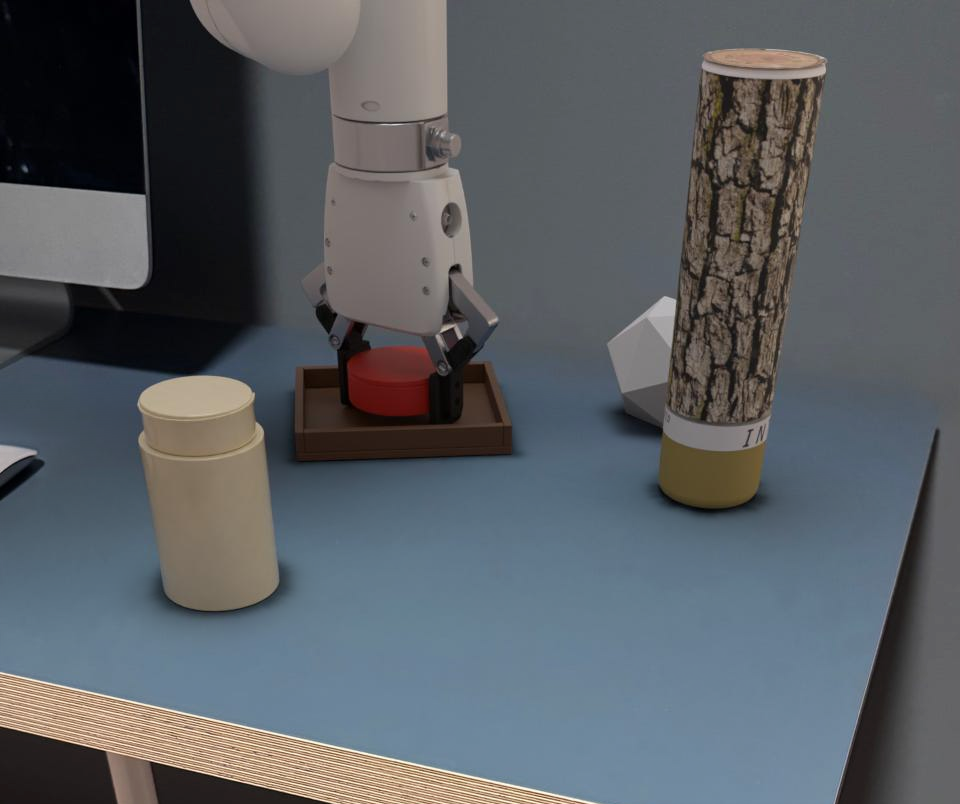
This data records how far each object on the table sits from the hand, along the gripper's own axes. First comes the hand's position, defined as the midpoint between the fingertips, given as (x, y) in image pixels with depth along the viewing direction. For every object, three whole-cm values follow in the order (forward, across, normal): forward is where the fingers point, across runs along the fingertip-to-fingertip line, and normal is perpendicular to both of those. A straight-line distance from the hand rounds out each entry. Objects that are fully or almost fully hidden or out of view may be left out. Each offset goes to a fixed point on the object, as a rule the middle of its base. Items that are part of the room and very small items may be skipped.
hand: (400, 410), depth 93 cm
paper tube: (+1, -24, -2) cm, 24 cm away
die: (+1, -16, -12) cm, 20 cm away
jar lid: (-3, 0, 0) cm, 3 cm away
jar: (+1, -6, +26) cm, 27 cm away
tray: (+1, 0, 0) cm, 1 cm away
